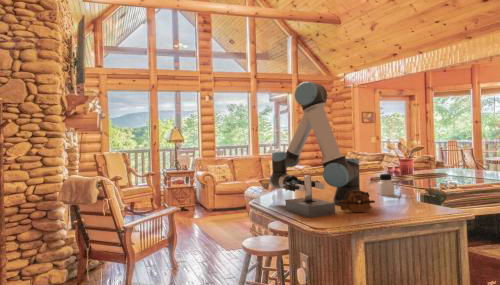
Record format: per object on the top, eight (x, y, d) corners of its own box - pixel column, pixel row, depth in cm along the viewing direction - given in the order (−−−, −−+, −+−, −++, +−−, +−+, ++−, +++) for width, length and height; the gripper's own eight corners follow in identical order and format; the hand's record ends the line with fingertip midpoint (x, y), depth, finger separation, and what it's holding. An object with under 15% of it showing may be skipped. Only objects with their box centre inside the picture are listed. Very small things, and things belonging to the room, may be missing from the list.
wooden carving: (339, 213, 170) (339, 191, 169) (337, 211, 174) (337, 190, 174) (376, 213, 169) (376, 190, 169) (373, 210, 173) (373, 189, 173)
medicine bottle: (394, 195, 213) (394, 174, 213) (381, 195, 213) (381, 174, 213) (390, 193, 220) (389, 173, 220) (377, 193, 221) (377, 173, 220)
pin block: (285, 210, 181) (285, 199, 181) (310, 207, 187) (309, 197, 187) (308, 217, 163) (308, 206, 163) (335, 214, 169) (334, 203, 169)
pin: (313, 209, 176) (311, 175, 176) (312, 210, 173) (310, 176, 173) (306, 209, 177) (304, 175, 177) (305, 210, 174) (303, 176, 174)
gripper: (308, 188, 196) (334, 193, 176) (269, 192, 187) (292, 198, 166) (307, 173, 196) (334, 177, 176) (269, 176, 186) (292, 181, 166)
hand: (314, 187), depth 171 cm, fingers open, 10 cm apart
